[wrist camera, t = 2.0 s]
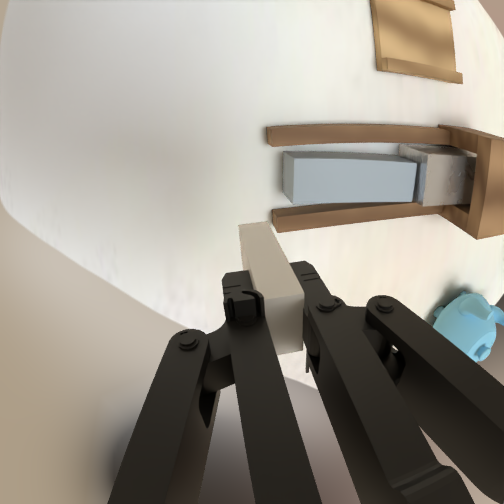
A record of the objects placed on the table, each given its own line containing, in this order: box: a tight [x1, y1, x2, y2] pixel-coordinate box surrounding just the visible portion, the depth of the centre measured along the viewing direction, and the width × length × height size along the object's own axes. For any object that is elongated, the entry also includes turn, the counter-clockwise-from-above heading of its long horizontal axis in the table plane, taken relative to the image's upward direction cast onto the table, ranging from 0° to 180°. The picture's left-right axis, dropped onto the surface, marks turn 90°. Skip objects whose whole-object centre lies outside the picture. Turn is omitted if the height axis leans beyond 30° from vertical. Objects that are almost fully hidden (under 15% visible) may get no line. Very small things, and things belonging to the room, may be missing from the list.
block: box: [399, 144, 477, 207], centre depth 27 cm, size 11×5×5 cm, turn 94°
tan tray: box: [370, 0, 463, 84], centre depth 21 cm, size 10×10×2 cm
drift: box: [283, 151, 417, 204], centre depth 27 cm, size 12×4×4 cm, turn 91°
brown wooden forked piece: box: [267, 124, 504, 240], centre depth 25 cm, size 10×24×8 cm, turn 95°
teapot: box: [433, 291, 504, 362], centre depth 36 cm, size 13×13×10 cm
